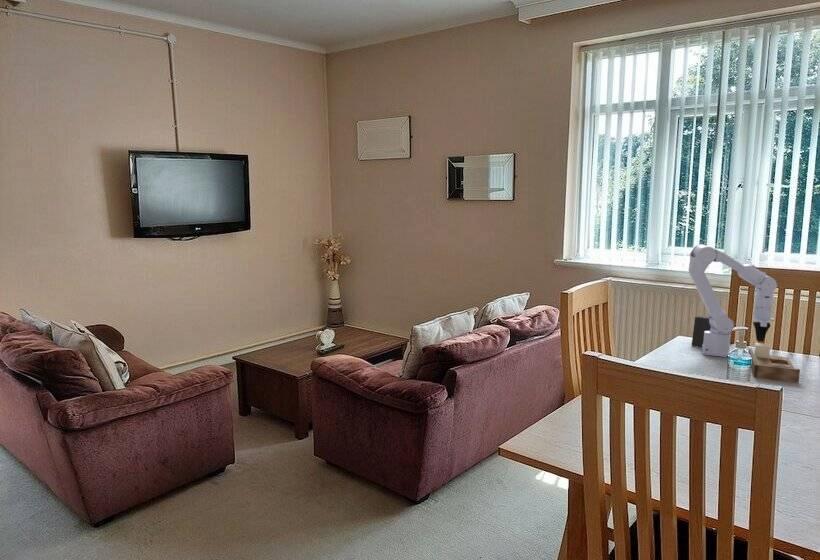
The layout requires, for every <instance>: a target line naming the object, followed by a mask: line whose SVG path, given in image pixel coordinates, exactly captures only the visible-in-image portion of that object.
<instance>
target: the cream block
mask: <svg viewBox="0 0 820 560" xmlns="http://www.w3.org/2000/svg"><path fill="white" fill-rule="evenodd" d="M754 344H755V345H754V354H755V357H760V358H769V355H770V354H771V345H770V343H767V342H766V343H763V342H755V343H754Z"/></svg>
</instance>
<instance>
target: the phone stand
mask: <svg viewBox="0 0 820 560" xmlns="http://www.w3.org/2000/svg"><path fill="white" fill-rule="evenodd" d="M711 327H712V326H711V325H710V323H709V316H700V315H695V316H694V325H693V331H692V339H691V345H694V346H693V347H695V346H698V347H697V348H702V344H703V341H704V331H710V329H711Z"/></svg>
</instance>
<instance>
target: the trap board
mask: <svg viewBox="0 0 820 560" xmlns="http://www.w3.org/2000/svg"><path fill="white" fill-rule="evenodd" d="M747 353H749V354H750V355H751V357H752V364H751V367H750V368H751V369H750V370H751V372H752V376H753V378H757V379H765V380H772V381H773V380H775V381H781V382H788V381H790V382H789V383H796V382H799V381H800V372H801V369H799V368H795V367H794V365H793V363H792V362H791V360H790V357H788V356H779V355H778V356H777V355H772V354H771V355H769V358H760V357H755V352H754V351H753V348H751V347H748V352H747ZM799 383H800V382H799Z"/></svg>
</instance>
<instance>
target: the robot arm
mask: <svg viewBox="0 0 820 560" xmlns="http://www.w3.org/2000/svg"><path fill="white" fill-rule="evenodd" d="M689 258H690V259H689V264H688V273H689V275H690V278H691V279H692V281H693V283H694V285H695V288H696V290H697V292H698V293H699V296H700V298H701V300H702V302H703V304H704V306H705V308H706V310H707V315H708V317H709V323H710V325H711V329H710V331H704V341H703V344H702V347H701V349H702V354H703V355H704V356H705V355H706V356H715V357H723V358H728V357H727V356H728V354H729V353H730V345H731V336H732V335H731V333H732V331H733V330H734V327H735V323H734V321H733V320H732V319H731V318H729V317H728V316H727V313H726V312H725V311H724V309H723V308H722V306H721V304H720V301H719V300H718V298H717V296H716V293H715V291H714V289H713V288H712V286H711V283H710V282H709V279H708V277H707V275H706V273H705V272H706V270H707V268H708V266H710V264H712V263H713V262H714V263H721V264H723V265H725V266H726V267H729V268H730V269H732V270H734V271H735V272H737V276H738V277H739V278H740V279H742V280H744V281H745V282H748V283H749V284H751V285H752V286H754V287H755V288H756V289H755V295H754V296H755V298H754V299H755V300H754V306H753V307H754V308H753V310H754V311H753V316H752V320H754V321H752V324H753V326H754V331H755V340H756V342H761V343H763V342H764V340H765V337H766V335H767V333H768V330H769V329H770V328H771V323H770V322H775V318H773V317H772V311H773V310H772V309H773V303H774V302H773V301H774V300H773V299H774V292H775V291H776V289H777V287H778V284H777V281H776V280H775V278H773V277H771V276H769V275H767V273H766V272H765V271H761V270H760V269H757V268H756V265H754V264H748V263H746V264H743V263H741V262H739V261H737V260H736V259H734V258H732V257H731V256H730V255H728V254H726V253H725V252H723V251H720V250H718V249H715V248H713V247H711V246H707V245H706V244H703V243H702V244H697V245H694V247H693V248H692V250H691V252H689ZM730 354H731V353H730Z"/></svg>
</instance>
